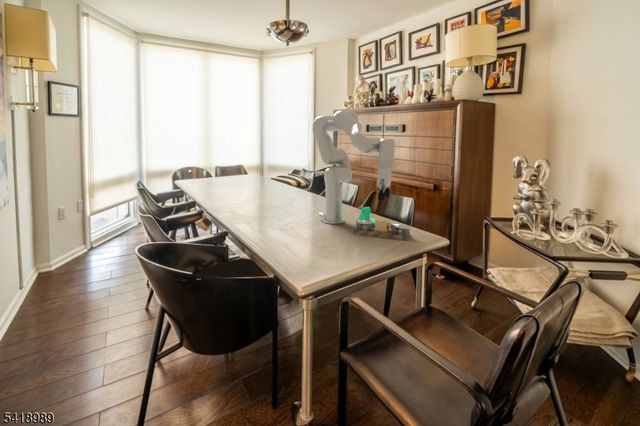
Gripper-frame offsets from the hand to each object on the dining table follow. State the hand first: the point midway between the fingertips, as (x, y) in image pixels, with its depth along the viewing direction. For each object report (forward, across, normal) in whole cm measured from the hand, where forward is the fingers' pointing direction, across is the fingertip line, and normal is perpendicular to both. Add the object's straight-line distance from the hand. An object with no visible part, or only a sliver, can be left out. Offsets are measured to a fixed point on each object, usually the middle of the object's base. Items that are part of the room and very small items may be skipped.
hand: (383, 198), depth 179 cm
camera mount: (+19, -15, -11) cm, 26 cm away
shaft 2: (+17, +1, +9) cm, 19 cm away
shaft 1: (+17, +1, -9) cm, 19 cm away
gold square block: (+17, 0, 0) cm, 17 cm away
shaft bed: (+18, +1, 0) cm, 18 cm away
